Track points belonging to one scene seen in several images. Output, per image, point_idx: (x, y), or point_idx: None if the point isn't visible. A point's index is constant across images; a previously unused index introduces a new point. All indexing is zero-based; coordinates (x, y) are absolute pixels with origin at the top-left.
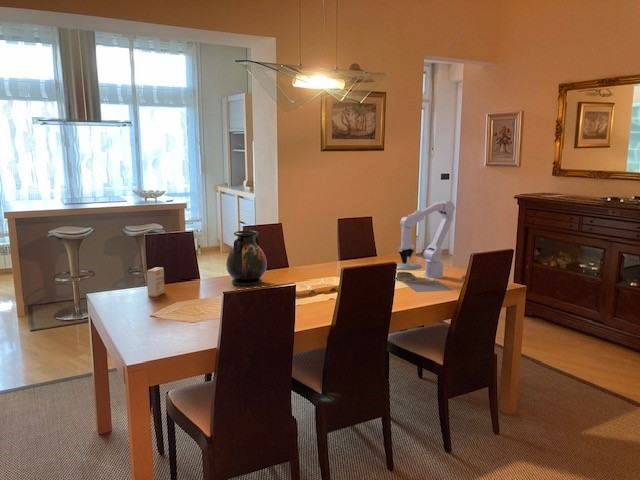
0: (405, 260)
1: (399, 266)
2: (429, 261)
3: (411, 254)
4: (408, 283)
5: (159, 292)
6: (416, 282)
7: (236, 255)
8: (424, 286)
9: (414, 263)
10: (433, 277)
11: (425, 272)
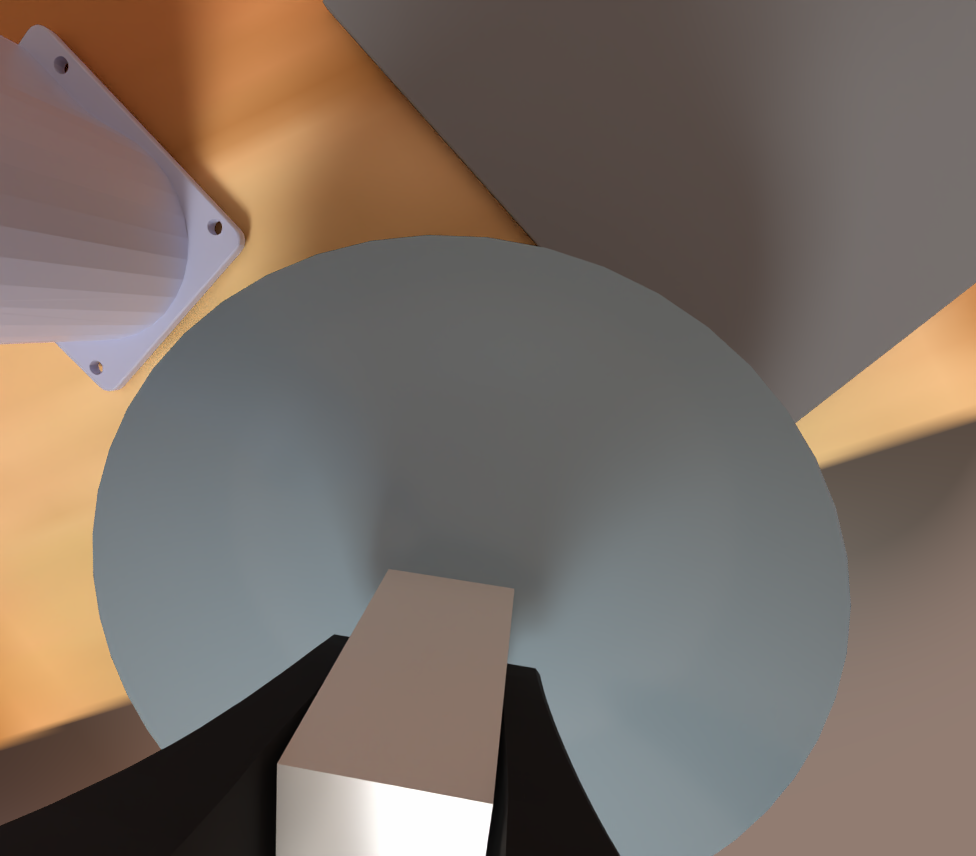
0: (552, 745)
1: (590, 739)
2: None
3: (116, 795)
4: (768, 365)
5: None
6: (634, 277)
7: None
8: (857, 29)
9: (99, 555)
10: (170, 159)
11: (114, 317)
